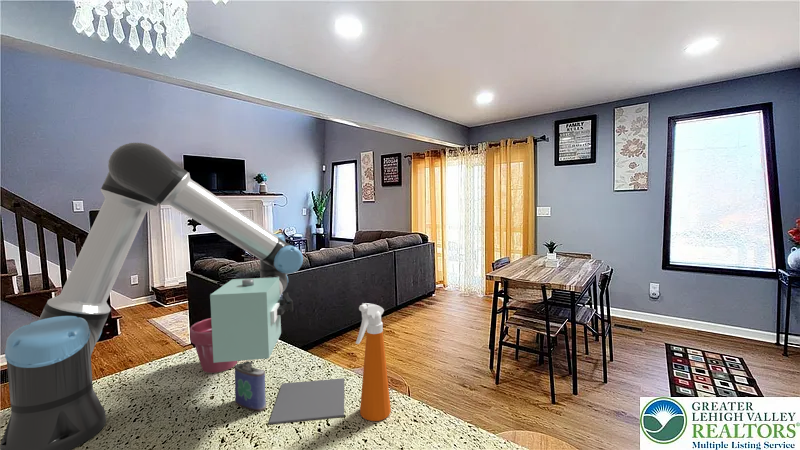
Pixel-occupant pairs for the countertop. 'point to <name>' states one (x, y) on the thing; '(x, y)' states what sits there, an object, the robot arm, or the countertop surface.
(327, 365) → the countertop surface
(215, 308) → the box
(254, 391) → the flask
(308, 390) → the rubber mat
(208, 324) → the plant pot
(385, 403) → the spray bottle
